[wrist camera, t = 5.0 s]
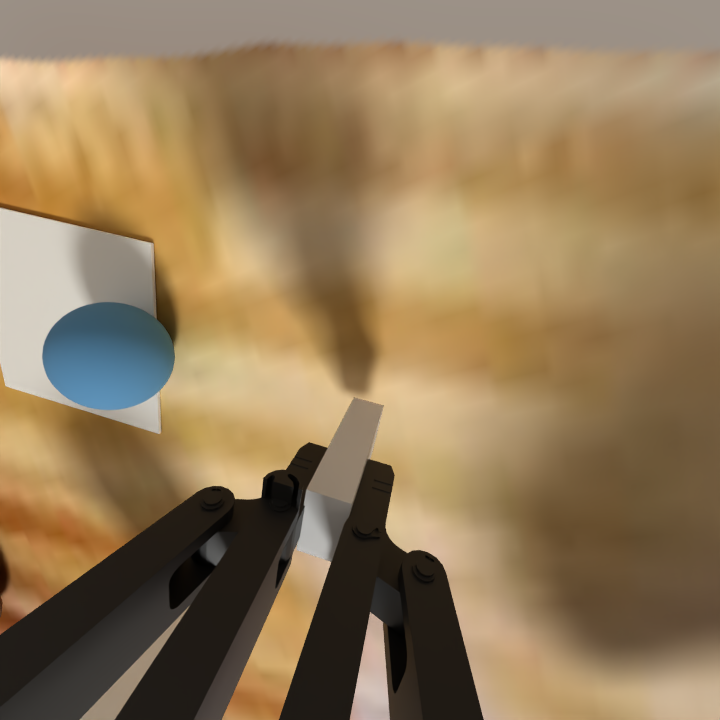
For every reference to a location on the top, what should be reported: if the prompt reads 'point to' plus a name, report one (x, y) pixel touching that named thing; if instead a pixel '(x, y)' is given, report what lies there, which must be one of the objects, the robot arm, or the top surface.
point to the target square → (66, 296)
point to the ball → (108, 356)
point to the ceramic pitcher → (0, 605)
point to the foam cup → (127, 681)
